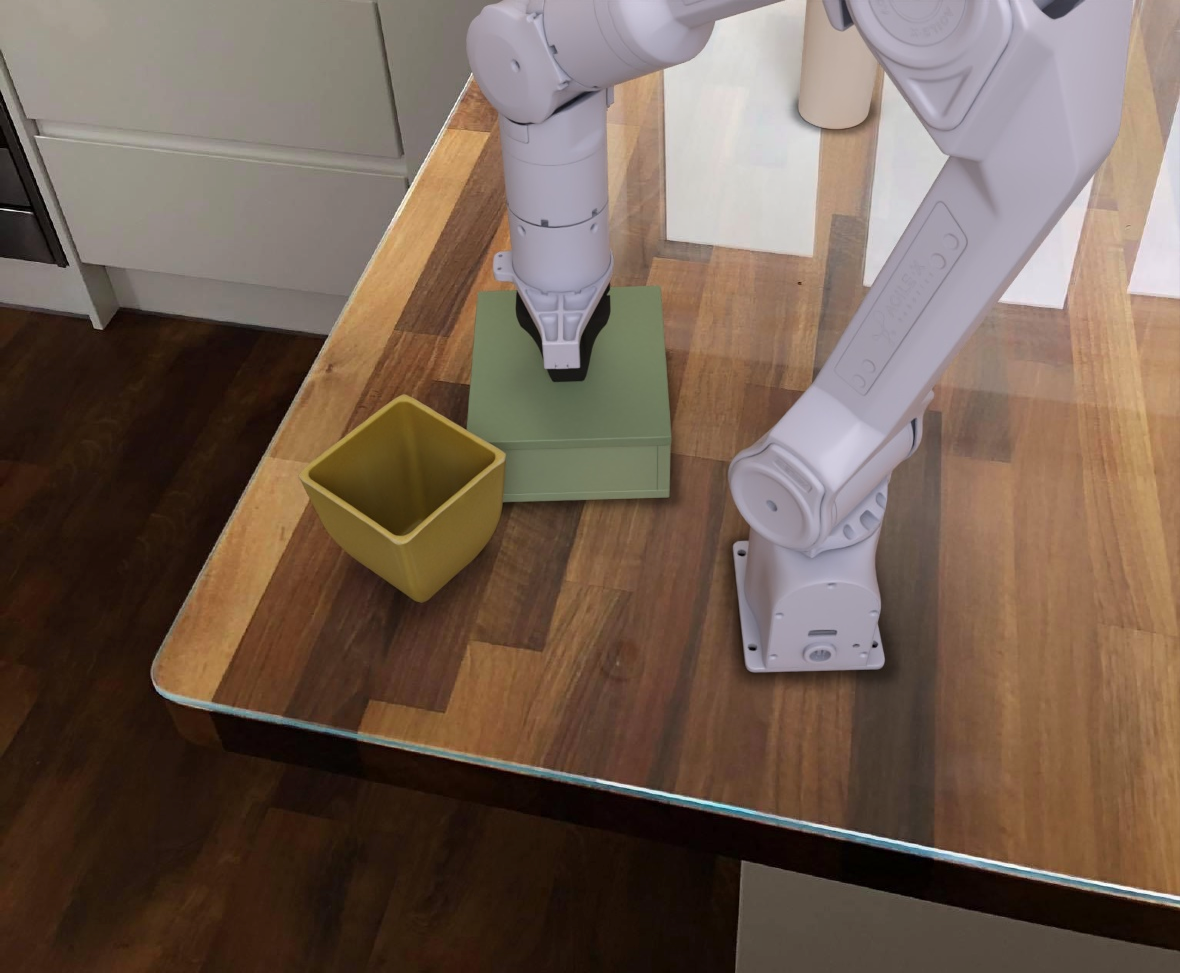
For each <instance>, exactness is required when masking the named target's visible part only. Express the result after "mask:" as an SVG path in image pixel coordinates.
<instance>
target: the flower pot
mask: <svg viewBox="0 0 1180 973" xmlns="http://www.w3.org/2000/svg"><path fill="white" fill-rule="evenodd" d="M505 464H506V454H505V453H504V452H503V451H502V450H500V449H499V448H497V447H495V446H493V445H492V444H490V443H488V442H486V441H485V440H483V439H481V438H480V437H478V436H476V435H474V434H472V433H471V432H469V431H467V430H466V429H465V428H464V427H462V426H461V425H459V424H458V423H456V422H454V421H452V420H450V419H449V418H447V417H446V416H444V415H442V414H440V413H439V412H437V411H435V410H434V409H433V408H431V407H429V406H427V405H426V404H424V403H422V402H421V401H419V400H417V399H416V398H413V397H412V396H409V395H408V394H405V393H404V394H400V395H399V396H397V397H395V398H394V399H392V400H391V401H389V402H388V403H387V404H385V405H384V406H382V407H381V408H380V409H378V410H377V411H375V412H374V413H373V414H371V416H369V417H368V418H367V419H366V420H364V421H363V422H362V423H360V424H359V425H358V426H356V427H355V428H354V429H352V430H351V431H350V432H349V433H348V434H346V435H345V436H344V437H343V438H341V439H340V440H338V441H337V442H335V444H334V443H333V445H332V446H330V447H329V448H328V449H327V450H325V451H324V452H323V453H321V454H319V455H318V456H317V457H316V458H314V459H313V460H312V461H311V462H309V463H308V464H307V465H306V466H305V467H304V468H303V469H302V470H301V471H300V472H299V473H298V474H297V475H298V479H299V481H300V482H301V484H302V486H303V489H304V490H305V493H306V494H307V496H308V499H309V500H310V503H311V504H312V506H313V508H314V510H315V512H316V515H317V516H318V518H319V520H320V522H321V524H322V525H323V527H324V529H325V531H326V532H327V533H328V534H329V536H330V537H331V539H333V541H334V542H335V543H336V544H337V545H338V546H339V547H340V548H341V549H342V550H343V551H344V552H345V553H347V554H348V555H349V556H350V557H351V558H353V559H354V560H355V561H357V562H358V563H360V564H361V565H363V566H364V567H366V568H367V569H368V570H370V571H372V573H374V574H376V575H377V576H379V577H380V578H382V579H383V580H385V581H386V582H387V583H389V585H391V586H393V587H395V588H396V589H397V590H399V591H400V592H401V593H403V594H404V595H406V596H407V597H408V598H410V599H411V600H413V601H414V602H416V603H420V604H421V603H422V604H423V603H426V602H427V601H429V600H431V599H432V598H433V597H434V596H435V595H436V594H437V593H438V592H439V591H440V590H441V589H442V588H443V587H444V586H445V585H447V584H448V583H449V582H450V581H451V580H452V579H453V578H454V577H456V575H458V574H459V573H460V572H461V571H462V570H464V569H465V568H466V567H467V566H468V565H469V564H470V563H472V562H473V560H475V559H476V558H477V557H478V555H479V554H480V553H481V552H482V551H483V549H484V548H485V547H486V545H487V544H488V543H489V541H490V540H491V538H492V537H493V535H494V533H495V531H496V529H497V527H498V525H499V522H500V519H501V515H502V511H503V503H504V502H503V494H504V480H505Z"/></svg>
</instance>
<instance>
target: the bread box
mask: <svg viewBox="0 0 1180 973" xmlns="http://www.w3.org/2000/svg"><path fill="white" fill-rule="evenodd" d="M671 445H672V444H671ZM671 445H659V446H625V447H591V448H557V449H524V450H502V451H503V452H504V453H505V454H506V464H505V480H504V494H503V503H522V502H525V503H526V502H557V501H558V502H560V501H593V500H595V501H596V500H628V499H631V500H632V499H666V498H670V494H671V492H670V491H671V489H670V488H671V447H672V446H671Z"/></svg>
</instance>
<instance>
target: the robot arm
mask: <svg viewBox="0 0 1180 973" xmlns="http://www.w3.org/2000/svg"><path fill="white" fill-rule="evenodd" d="M784 1H786V0H500V1H499V2H497V3H491V4H488V5H485V6H484V7H483V8H482V9H481V10H480V13H479V14H477V15H476V16H475V17H474V18H473V19H472V20H471V22H470V23H469V26H468V29H467V32H466V40H465V46H466V47H465V48H466V56H467V60H468V64H469V67H470V70H471V74H472V76H473V78H474V81H475V82H476V84H477V86H478V88H479V91H481V93H482V94H483V97H485V99H486V100H487V101H488V103H489V104H490V105H491V106H492V107H493V108H494V109H495V110H496V111H497V118H498V127H499V139H500V148H501V158H502V159H501V160H502V170H503V179H504V180H503V182H504V190H505V201H506V209H507V210H506V211H507V218H508V229H509V230H508V231H509V241H510V250H504V251H503V250H502V251H498V252H496V253H494V255H493V261H492V274H493V278H494V280H495V281H497V282H501V283H502V282H503V283H504V282H510V283H512V284H513V285H514V287H515V290H517V292H516V317H517V320H518V322H519V324H520V326H521V327H522V328H523V329H524V330H525V331H526V332H527V333H528V334H529V335H530V336H531V337H532V338H533V340H534V341H535V343H536V344H537V346H538V348H539V350H540V352H541V355H542V358H543V360H544V368H545V369H547V371H548V373H549V376H550V378H551V380H552V381H553V382H575V381H584V380H585V377H586V375H587V371H588V367H589V363H590V357H591V352H592V348H593V345H594V342H595V340H596V338H597V336H598V334H599V333H600V331H601V330H602V329H603V328H604V326H605V325H606V324H607V322H608V319H609V316H610V312H611V305H610V295H607V294H608V292H609V291H610V287H611V280H612V278H613V275H614V270H615V264H614V263H615V262H614V261H615V260H614V253H613V251H612V249H611V240H610V239H611V238H610V234H611V233H610V198H609V159H608V156H609V155H608V154H609V153H608V152H609V151H608V115H607V114H608V113H607V112H608V111H609V108H610V107H611V105H613V104H614V103H615V86H618V85H621V84H624V83H626V82H630V81H633V80H637V79H640V78H642V77H645V76H649V75H652V74H654V73H657V72H660V71H663V70H666V69H669V68H672V67H675V66H676V67H677V66H678V65H682V64H685V63H687V62H690V61H691V60H693V59H694V58H696V57H697V56H698V55H699V54H701V52H702V51H703V50H704V49H705V47H706V46H707V44H708V42H709V41H710V39H711V37H712V34H713V31H714V28H715V25H716V22H717V21H721V20H724V19H727V18H730V17H734V16H738V15H741V14H744V13H747V12H750V11H754V10H757V9H760V8H761V9H762V8H764V7H768V6H771V5H774V4H775V5H776V4H777V3H781V2H784ZM822 3H823V5H824V8H825V11H826V14H827V17H828V20H829V22H830V24H831V26H832V27H833V28H834V29H836V30H839V31H842V32H844V31H845V30H847V29H848V28H850V27H851V26H853V25H855V26H856V28H857V30H858V32H859V34H860V35H861V37H862V39H863V40H864V42H865V44H866V45H867V47H868V48H869V50H870V51H871V53H872V54H873V55H874V57H875V58H876V60H877V61H878V65H880V67H881V68H882V69H883V72H884V73H885V74H886V76H887V77H888V78H889V80H890V81H891V82H892V84H893V86H894V87H895V88H896V90H897V91H898V93H899V94H900V95H901V96H902V98H903V100H904V101H905V102H906V104H907V105H908V106H909V108H910V110H912V112H913V113H914V115H915V116H916V118H917V119H918V121H919V122H920V123H921V124H922V126H923V128H924V129H925V131H926V132H927V134H928V135H929V136H930V138H931V139H932V140H933V142H934V143H935V145H936V146H937V148H938V149H939V151H941V153H942V154H943V155H945V156H948V158H947V160H946V161H945V162H944V165H943V166H942V168H941V169H940V171H939V173H938V174H937V176H936V178H935V179H934V181H933V182H932V184H931V186H930V187H929V189H928V191H927V193H926V194H925V196H924V197H923V199H922V201H921V202H920V204H919V206H918V208H917V209H916V211H915V212H914V214H913V216H912V217H911V219H910V221H909V223H908V224H907V226H906V227H905V229H904V231H903V232H902V234H901V236H900V237H899V239H898V240H897V242H896V244H895V245H894V247H893V248H892V250H891V252H890V254H889V256H888V257H887V259H886V261H885V262H884V264H883V265H882V266H881V269H880V270H879V272H878V273H877V275H876V277H875V278H874V280H873V282H872V284H871V286H870V287H869V289H868V290H867V292H866V294H865V295H864V297H863V299H862V300H861V302H860V304H859V305H858V307H857V308H856V310H855V312H854V314H853V315H852V317H851V319H850V320H849V321H848V324H847V325H846V327H845V328H844V330H843V332H842V334H841V336H840V337H839V339H838V340H837V342H836V344H835V345H834V346H833V349H832V350H831V352H830V353H829V355H828V357H827V358H826V360H825V362H824V363H823V365H822V367H821V368H820V370H819V371H818V374H817V375H816V377H815V378H814V380H813V382H812V383H810V385H809V386H808V387H807V389H806V390H805V391H804V392H803V393H802V394H801V395H800V396H799V398H798V399H797V400H796V401H795V402H794V403H793V404H792V406H790V408H789V409H788V410H787V411H786V412H785V413H784V414H783V416H782V417H781V418H780V419H779V420H778V421H777V422H776V423H775V424H774V425H773V426H772V427H771V428H770V429H769V430H768V431H767V432H765V433H764V434H763V435H762V436H761V437H760V438H759V439H757V440H756V441H755V442H753V444H752V445H751V446H749V447H746V448H743V449H741V450H740V451H739V452H737V454H736V455H735V456H734V457H733V458H732V460H731V461H730V463H729V466H728V470H727V480H728V487H729V490H730V493H731V497H732V499H733V502H734V504H735V507H736V508H737V510H738V512H739V513H740V515H741V516H742V518H743V519H744V520H745V522H746V523H747V524H748V525H749V535H748V540H737V541H735V542H734V543H733V545H732V556H733V566H734V575H735V584H736V593H737V602H738V612H739V620H740V629H741V640H742V649H743V658H744V666H745V668H746V670H747V671H749V672H750V673H782V672H783V673H785V672H787V673H788V672H822V671H823V672H824V671H825V672H826V671H860V670H861V671H863V670H864V671H865V670H866V671H867V670H881V669H882V668H883V667H884V665H885V662H886V657H885V653H884V647H883V642H882V637H881V633H880V628H879V618H880V616H881V615H880V614H881V611H882V610H881V609H882V598H881V593H880V588H879V582H878V579H877V578H878V577H877V570H876V554H877V548H878V544H879V541H880V540H879V539H880V535H881V530H882V527H883V522H884V517H885V514H886V509H887V504H888V493H889V492H888V491H889V490H888V489H889V488H888V485H889V484H890V482H891V479H892V474H893V471H894V470H895V469H896V468H897V467H898V466H899V465H900V464H901V463H902V462H903V461H905V460H907V459H909V458H911V456H912V455H913V454H915V452H916V451H917V450H918V449H919V446H920V444H921V442H922V440H923V439H922V438H923V434H924V433H923V432H924V431H923V429H924V428H923V424H924V422H923V421H924V414H925V412H926V410H927V408H928V407H929V405H930V403H931V402H932V401H933V399H935V392H934V390H933V388H934V387H935V385H936V384H937V383H938V382H939V380H940V379H941V378H942V376H943V375H944V373H945V372H946V371H947V370H948V369H949V367H950V366H951V365H952V363H953V361H954V360H955V359H956V358H957V356H958V355H959V354H960V353H961V351H963V348H965V346H966V345H967V343H968V342H969V340H970V339H971V338H972V336H974V334H975V333H976V332H977V330H978V329H979V327H980V326H981V325H982V323H983V322H984V321H985V320H986V318H987V317H988V316H989V314H990V313H991V311H992V310H993V309H994V307H995V306H996V305H997V304H998V302H999V301H1000V300H1001V298H1002V297H1003V296H1004V294H1005V293H1006V292H1007V291H1008V289H1009V288H1010V287H1011V285H1012V284H1013V283H1014V281H1015V280H1016V278H1017V277H1018V276H1019V275H1020V273H1022V271H1023V269H1024V268H1025V266H1026V265H1027V264H1028V262H1030V260H1031V258H1032V257H1033V256H1034V255H1035V253H1036V252H1037V251H1038V249H1039V248H1040V246H1042V244H1043V243H1044V241H1045V240H1046V239H1047V237H1048V236H1049V235H1050V234H1051V232H1052V231H1053V230H1054V228H1055V227H1056V226H1057V225H1058V223H1059V222H1060V221H1061V219H1062V218H1063V216H1064V215H1065V214H1066V212H1067V211H1068V210H1069V208H1070V207H1071V206H1072V205H1073V203H1074V202H1075V200H1077V198H1078V196H1079V195H1080V194H1081V192H1083V190H1084V189H1085V188H1086V186H1087V185H1088V183H1089V182H1090V181H1091V179H1092V178H1093V176H1094V175H1095V174H1096V173H1097V172H1098V170H1099V168H1100V167H1102V165H1103V163H1104V162H1105V161H1106V159H1107V158H1108V157H1109V155H1110V154H1111V152H1112V150H1113V148H1114V146H1115V144H1116V141H1117V140H1118V138H1119V136H1120V135H1119V134H1120V130H1121V129H1120V128H1121V124H1122V117H1123V106H1124V96H1125V86H1126V78H1127V68H1128V67H1127V66H1128V58H1129V48H1130V37H1131V27H1132V19H1133V18H1132V17H1133V10H1134V9H1133V8H1134V0H822ZM873 645H874V646H875V647H873ZM750 648H754V649H755V650H751V649H750Z"/></svg>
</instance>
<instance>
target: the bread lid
mask: <svg viewBox="0 0 1180 973" xmlns="http://www.w3.org/2000/svg"><path fill="white" fill-rule="evenodd" d="M516 292H517V289H507V290H506V289H505V290H479V291H477V297H476V307H475V308H476V309H475V320H474V321H475V322H474V332H473V344H472V355H471V370H470V379H469V392H468V405H467V416H466V430H467V431H469V432H471V433H472V434H474V435H476V436H478V437H480V438H481V439H483V440H485V441H486V442H488V443H490V444H492V445H493V446H495V447H497V448H499V449H500V450H524V449H557V448H591V447H625V446H659V445H672V437H673V436H672V424H671V408H670V395H669V394H670V393H669V381H668V380H669V379H668V370H667V369H668V367H667V354H666V353H667V352H666V340H665V338H666V336H665V326H664V323H665V322H664V310H663V298H662V286H661V285H660V284H659V285H632V286H610V291H609V292H608V294H607V295H610V305H611V312H610V316H609V319H608V322H607V324H606V325H605V326H604V328H603V329H602V330H601V331H600V333H599V334H598V336H597V338H596V340H595V342H594V345H593V348H592V352H591V357H590V363H589V367H588V371H587V375H586V377H585V380H584V381H575V382H553V381H552V380H551V378H550V376H549V373H548V371H547V369H545V368H544V360H543V358H542V355H541V352H540V350H539V348H538V346H537V344H536V343H535V341H534V340H533V338H532V337H531V336H530V335H529V334H528V333H527V332H526V331H525V330H524V329H523V328H522V327H521V326H520V324H519V322H518V320H517V317H516Z"/></svg>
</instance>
